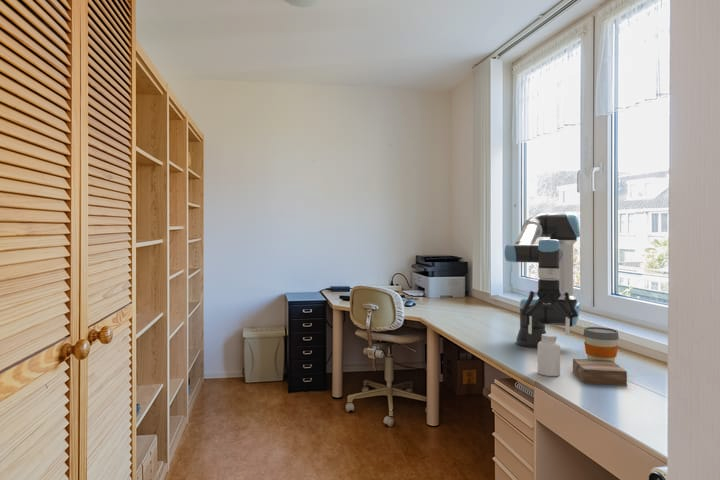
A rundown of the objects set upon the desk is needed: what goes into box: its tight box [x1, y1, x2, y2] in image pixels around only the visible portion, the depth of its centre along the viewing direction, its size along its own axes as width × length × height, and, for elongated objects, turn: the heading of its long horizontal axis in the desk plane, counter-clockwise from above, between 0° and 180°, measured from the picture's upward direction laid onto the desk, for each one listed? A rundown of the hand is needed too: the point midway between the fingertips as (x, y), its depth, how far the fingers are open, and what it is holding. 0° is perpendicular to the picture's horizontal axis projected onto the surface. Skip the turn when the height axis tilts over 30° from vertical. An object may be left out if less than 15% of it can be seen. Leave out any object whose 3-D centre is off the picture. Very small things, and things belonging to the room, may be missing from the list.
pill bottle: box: [537, 333, 561, 377], centre depth 165 cm, size 8×8×15 cm
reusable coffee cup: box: [583, 326, 620, 363], centre depth 175 cm, size 13×13×15 cm
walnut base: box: [572, 358, 628, 386], centre depth 160 cm, size 14×14×5 cm
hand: (548, 334), depth 165 cm, fingers open, 13 cm apart
